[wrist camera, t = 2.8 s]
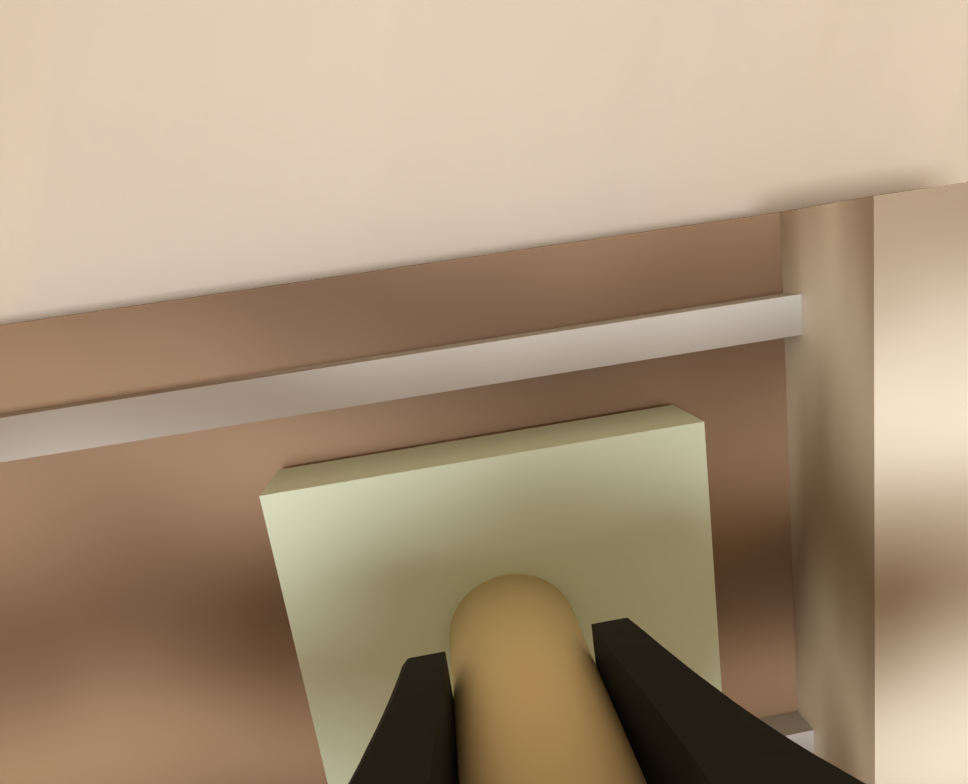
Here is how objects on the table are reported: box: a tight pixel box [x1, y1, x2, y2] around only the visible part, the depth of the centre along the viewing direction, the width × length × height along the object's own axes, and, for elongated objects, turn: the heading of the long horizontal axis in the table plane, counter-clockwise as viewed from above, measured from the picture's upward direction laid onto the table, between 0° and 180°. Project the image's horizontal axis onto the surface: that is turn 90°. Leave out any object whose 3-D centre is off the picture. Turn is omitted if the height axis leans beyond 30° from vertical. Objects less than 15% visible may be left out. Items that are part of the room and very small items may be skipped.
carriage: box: [259, 405, 722, 784], centre depth 9 cm, size 7×8×6 cm
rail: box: [0, 182, 968, 784], centre depth 11 cm, size 14×32×4 cm, turn 98°
